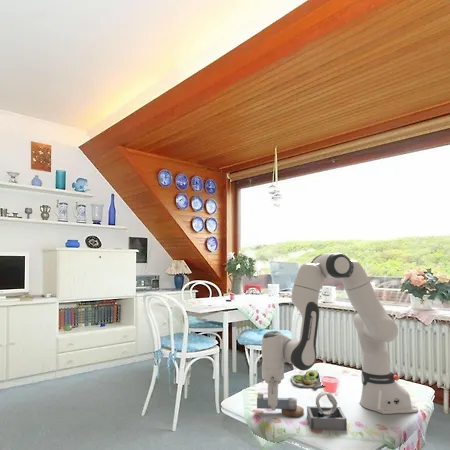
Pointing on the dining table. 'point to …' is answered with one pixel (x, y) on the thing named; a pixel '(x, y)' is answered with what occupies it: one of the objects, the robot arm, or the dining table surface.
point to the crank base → (293, 412)
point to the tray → (326, 419)
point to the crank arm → (282, 403)
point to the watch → (329, 412)
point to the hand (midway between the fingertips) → (273, 408)
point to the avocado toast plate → (307, 379)
